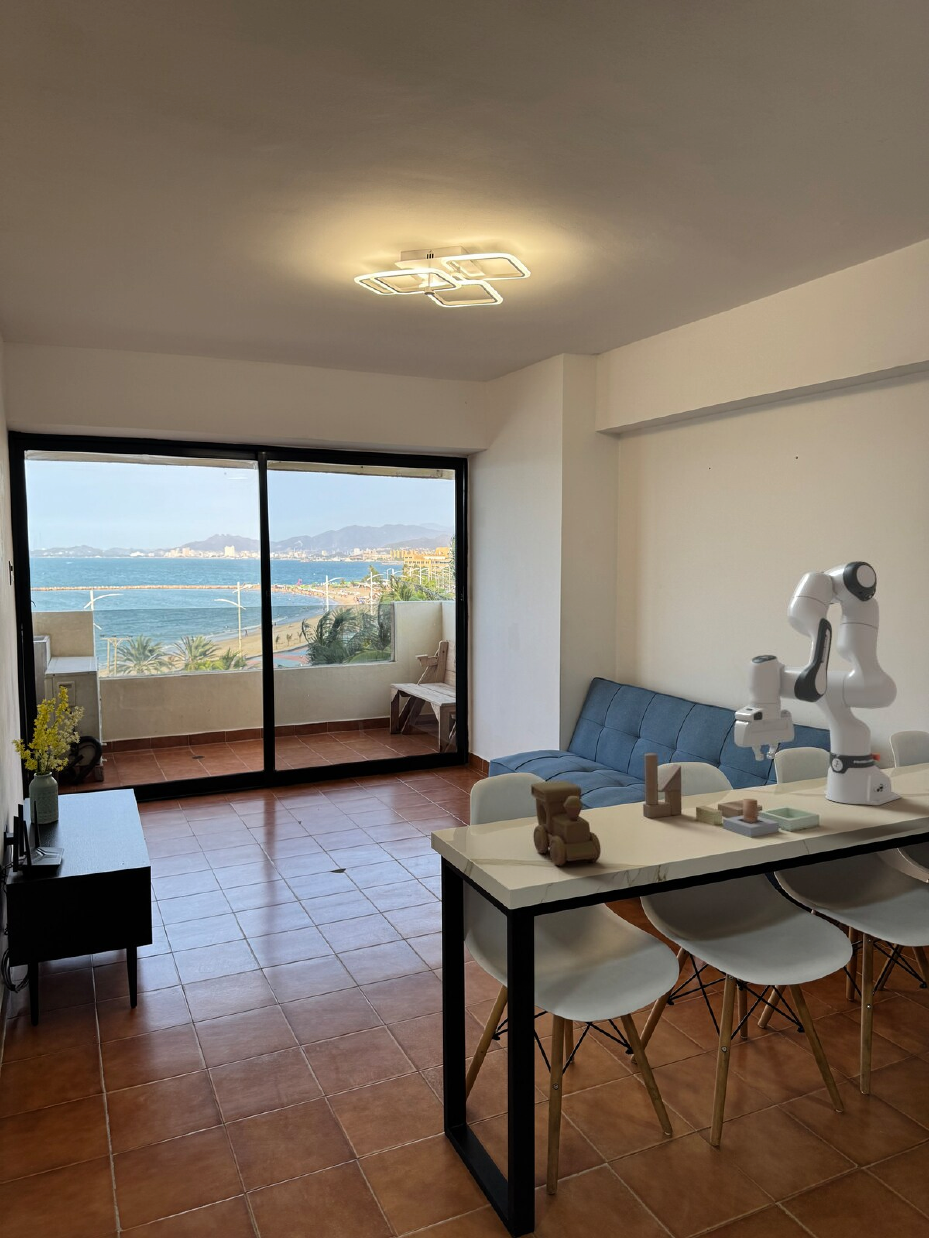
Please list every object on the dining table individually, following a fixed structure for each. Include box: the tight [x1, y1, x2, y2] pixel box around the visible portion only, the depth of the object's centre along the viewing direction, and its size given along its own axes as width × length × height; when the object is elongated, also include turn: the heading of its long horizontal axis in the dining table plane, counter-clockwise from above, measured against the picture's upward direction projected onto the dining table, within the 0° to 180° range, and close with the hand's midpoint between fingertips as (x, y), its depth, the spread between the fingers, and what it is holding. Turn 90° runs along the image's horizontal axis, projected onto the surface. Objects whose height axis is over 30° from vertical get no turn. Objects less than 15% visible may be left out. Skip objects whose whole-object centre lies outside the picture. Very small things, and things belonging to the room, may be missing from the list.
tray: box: [758, 805, 820, 832], centre depth 233 cm, size 11×11×3 cm
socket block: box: [722, 815, 779, 838], centre depth 228 cm, size 10×10×2 cm
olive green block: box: [695, 805, 723, 826], centre depth 237 cm, size 3×7×4 cm, turn 27°
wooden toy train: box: [530, 780, 602, 867], centre depth 209 cm, size 20×11×17 cm, turn 17°
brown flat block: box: [717, 799, 763, 819], centre depth 243 cm, size 9×8×4 cm
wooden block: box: [642, 752, 682, 819], centre depth 245 cm, size 4×11×18 cm, turn 109°
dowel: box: [742, 798, 758, 824], centre depth 228 cm, size 4×4×8 cm
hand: (765, 759), depth 247 cm, fingers open, 3 cm apart
